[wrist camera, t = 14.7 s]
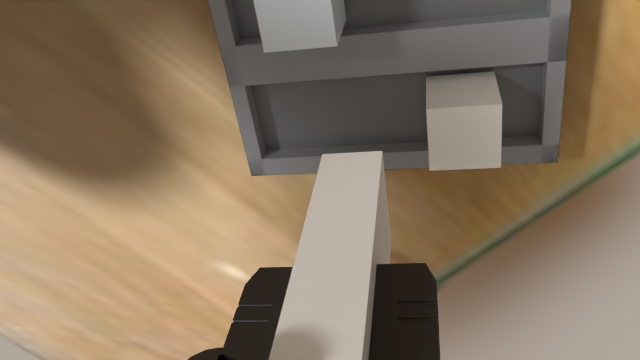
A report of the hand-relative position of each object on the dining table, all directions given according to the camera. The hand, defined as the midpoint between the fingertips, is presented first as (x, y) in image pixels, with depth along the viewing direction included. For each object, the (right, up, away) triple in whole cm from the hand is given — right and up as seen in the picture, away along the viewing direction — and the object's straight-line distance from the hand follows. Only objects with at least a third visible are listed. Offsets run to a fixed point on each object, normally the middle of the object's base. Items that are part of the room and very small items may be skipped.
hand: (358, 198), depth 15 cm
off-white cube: (+8, +5, +21) cm, 23 cm away
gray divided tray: (+3, +9, +22) cm, 24 cm away
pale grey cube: (-2, +12, +19) cm, 22 cm away
